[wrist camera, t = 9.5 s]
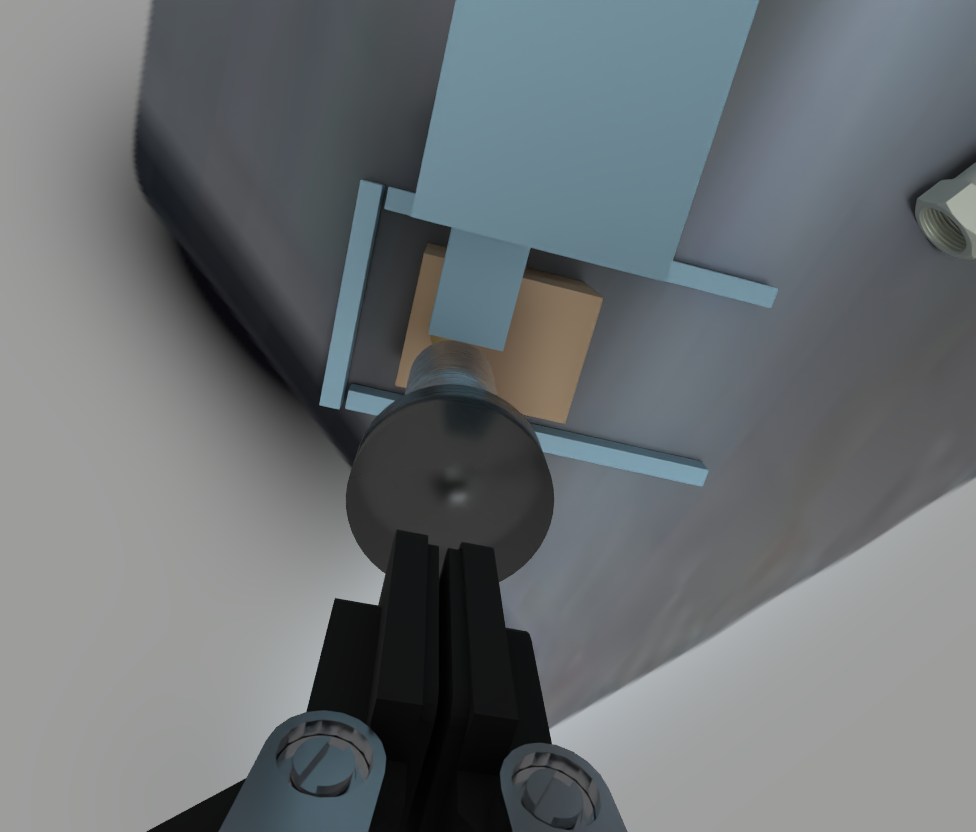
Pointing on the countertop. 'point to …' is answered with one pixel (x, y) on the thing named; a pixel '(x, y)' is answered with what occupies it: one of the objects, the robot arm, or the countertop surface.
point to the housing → (520, 338)
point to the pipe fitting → (950, 214)
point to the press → (559, 171)
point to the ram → (451, 466)
